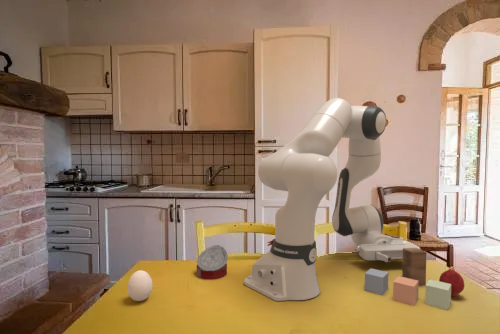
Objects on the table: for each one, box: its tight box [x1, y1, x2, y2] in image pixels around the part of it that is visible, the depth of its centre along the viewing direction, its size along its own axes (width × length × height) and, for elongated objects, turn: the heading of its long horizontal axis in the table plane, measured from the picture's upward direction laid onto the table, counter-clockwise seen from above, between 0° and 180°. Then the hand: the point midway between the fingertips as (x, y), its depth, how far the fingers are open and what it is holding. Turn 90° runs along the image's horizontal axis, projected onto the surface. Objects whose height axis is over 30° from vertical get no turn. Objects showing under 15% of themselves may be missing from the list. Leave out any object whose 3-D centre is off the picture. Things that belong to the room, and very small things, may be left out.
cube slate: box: [364, 267, 389, 296], centre depth 89 cm, size 5×5×5 cm
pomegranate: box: [438, 266, 465, 297], centre depth 85 cm, size 6×6×8 cm
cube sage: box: [424, 278, 452, 311], centre depth 81 cm, size 5×5×5 cm
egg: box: [126, 269, 153, 302], centre depth 83 cm, size 6×6×8 cm
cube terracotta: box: [392, 276, 420, 306], centre depth 84 cm, size 5×5×5 cm
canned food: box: [196, 244, 229, 281], centre depth 102 cm, size 11×10×10 cm
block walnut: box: [401, 248, 427, 287], centre depth 94 cm, size 4×4×10 cm
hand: (402, 259), depth 99 cm, fingers open, 8 cm apart
